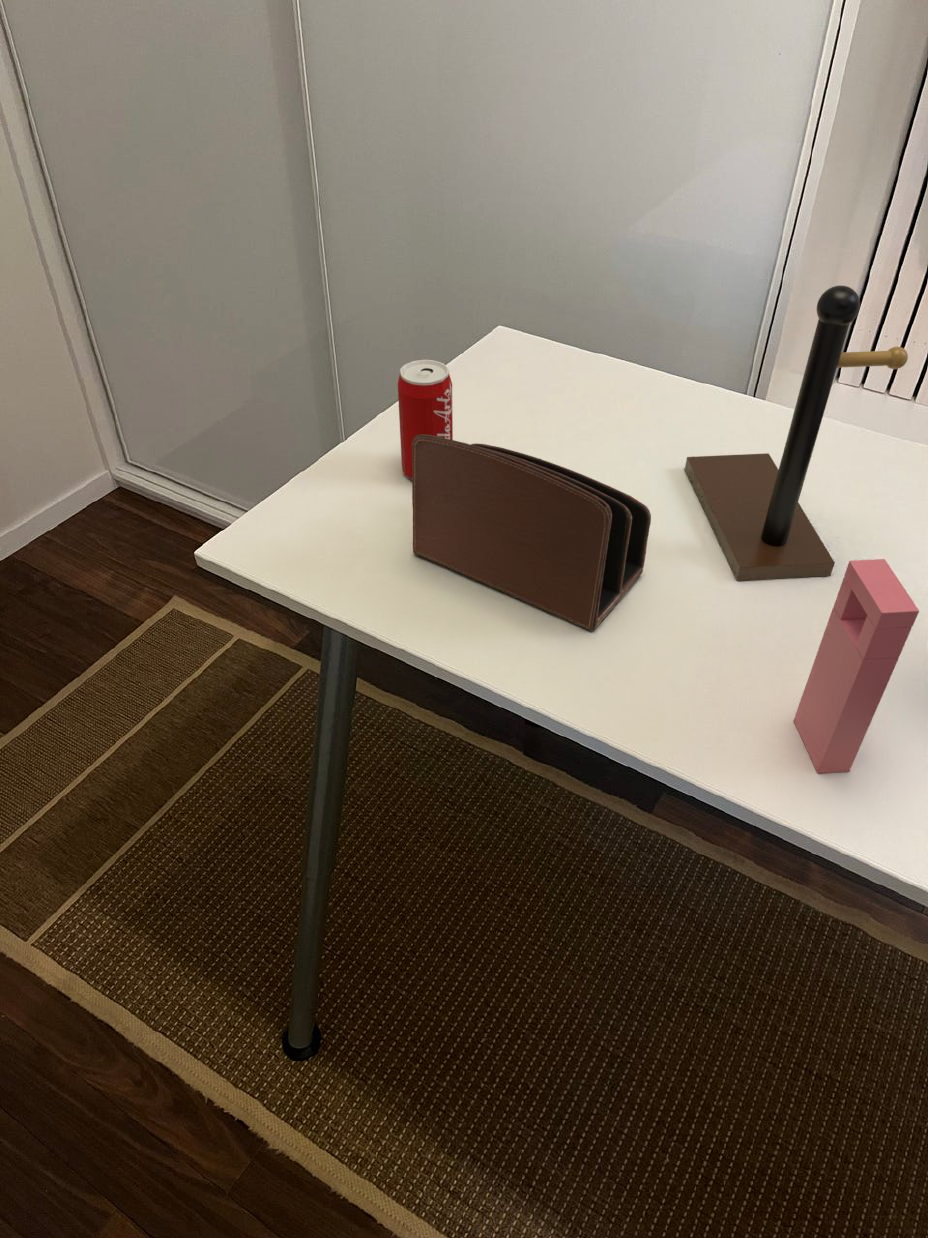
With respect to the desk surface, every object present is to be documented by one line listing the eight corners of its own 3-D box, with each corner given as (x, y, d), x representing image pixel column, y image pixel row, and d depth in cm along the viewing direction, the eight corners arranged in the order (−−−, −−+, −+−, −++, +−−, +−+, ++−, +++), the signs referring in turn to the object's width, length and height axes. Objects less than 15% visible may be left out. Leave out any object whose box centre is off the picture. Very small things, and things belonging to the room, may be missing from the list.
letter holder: (593, 634, 82) (610, 501, 73) (411, 555, 90) (405, 426, 81) (644, 574, 88) (665, 444, 79) (469, 505, 97) (469, 380, 87)
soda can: (441, 489, 99) (439, 385, 91) (393, 479, 100) (387, 376, 92) (460, 462, 103) (459, 360, 95) (413, 453, 104) (409, 352, 96)
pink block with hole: (823, 718, 75) (884, 558, 64) (849, 771, 71) (919, 610, 60) (793, 720, 75) (849, 560, 64) (817, 773, 71) (881, 613, 60)
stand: (788, 464, 102) (856, 217, 85) (857, 574, 88) (955, 305, 71) (684, 469, 102) (730, 220, 84) (736, 581, 88) (805, 310, 70)
